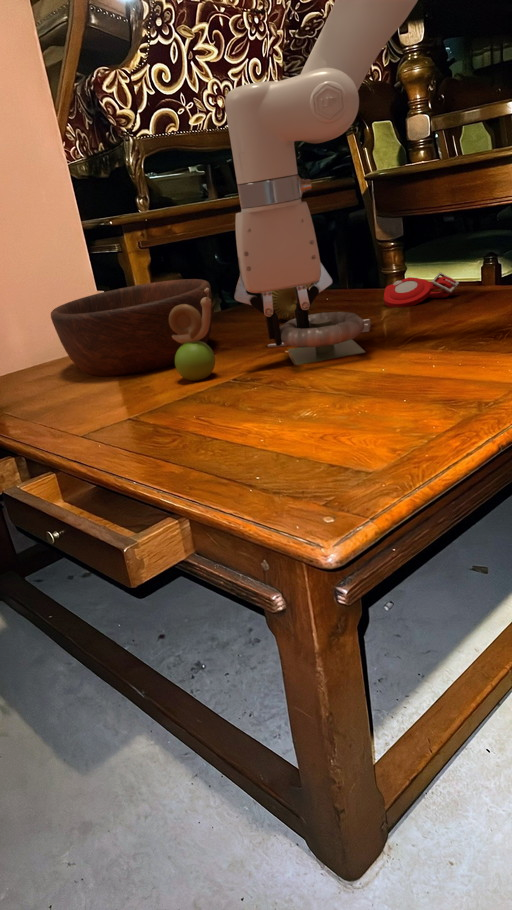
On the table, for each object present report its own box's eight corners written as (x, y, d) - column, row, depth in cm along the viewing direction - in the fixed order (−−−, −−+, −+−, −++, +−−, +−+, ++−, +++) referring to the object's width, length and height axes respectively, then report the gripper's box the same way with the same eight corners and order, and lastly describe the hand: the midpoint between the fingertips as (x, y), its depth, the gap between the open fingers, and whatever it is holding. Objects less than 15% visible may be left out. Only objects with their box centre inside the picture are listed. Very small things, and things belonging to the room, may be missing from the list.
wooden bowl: (62, 395, 98) (43, 324, 95) (70, 359, 121) (54, 300, 118) (233, 359, 102) (221, 289, 98) (209, 330, 125) (198, 272, 121)
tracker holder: (392, 304, 114) (371, 283, 122) (398, 327, 116) (377, 305, 124) (461, 274, 113) (435, 255, 121) (465, 298, 116) (439, 277, 124)
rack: (351, 346, 98) (347, 309, 96) (366, 360, 90) (362, 321, 88) (289, 357, 98) (283, 321, 96) (298, 373, 89) (292, 334, 87)
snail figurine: (220, 383, 91) (203, 291, 86) (174, 388, 92) (155, 298, 88) (229, 371, 96) (213, 284, 91) (185, 376, 97) (167, 290, 93)
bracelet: (353, 323, 98) (351, 306, 97) (373, 339, 88) (372, 320, 87) (275, 336, 97) (272, 319, 97) (286, 354, 87) (284, 335, 86)
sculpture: (272, 326, 119) (265, 279, 116) (272, 321, 123) (265, 276, 120) (319, 319, 118) (312, 271, 115) (317, 314, 122) (311, 268, 119)
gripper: (328, 184, 89) (344, 325, 96) (204, 206, 89) (229, 346, 96) (340, 184, 82) (356, 336, 89) (205, 208, 82) (232, 358, 89)
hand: (290, 340), depth 92 cm, fingers closed on bracelet, 2 cm apart
